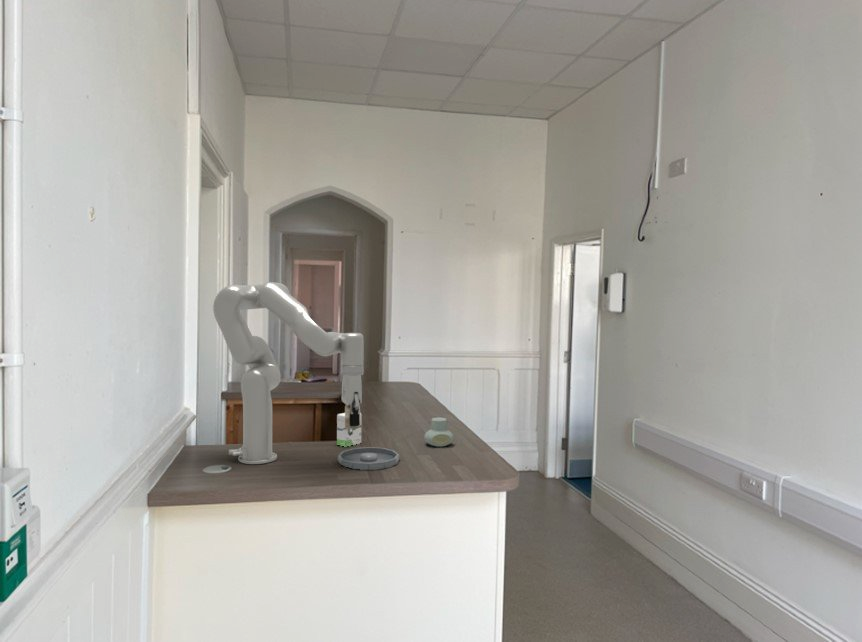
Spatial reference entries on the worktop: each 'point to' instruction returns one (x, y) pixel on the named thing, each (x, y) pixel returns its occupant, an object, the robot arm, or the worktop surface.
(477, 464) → the worktop surface
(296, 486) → the worktop surface
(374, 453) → the ring tray
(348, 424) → the beige cylinder
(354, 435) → the ink box
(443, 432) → the air freshener
